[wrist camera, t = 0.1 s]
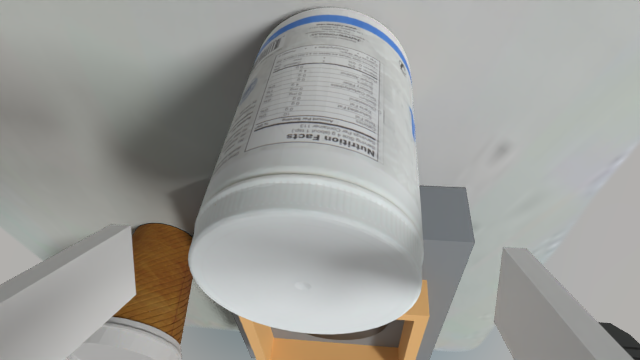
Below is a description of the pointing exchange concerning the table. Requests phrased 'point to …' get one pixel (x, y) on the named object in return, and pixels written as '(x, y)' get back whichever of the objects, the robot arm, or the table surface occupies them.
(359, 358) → the grey platform
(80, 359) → the disposable coffee cup
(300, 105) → the supplement tub
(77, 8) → the table surface
